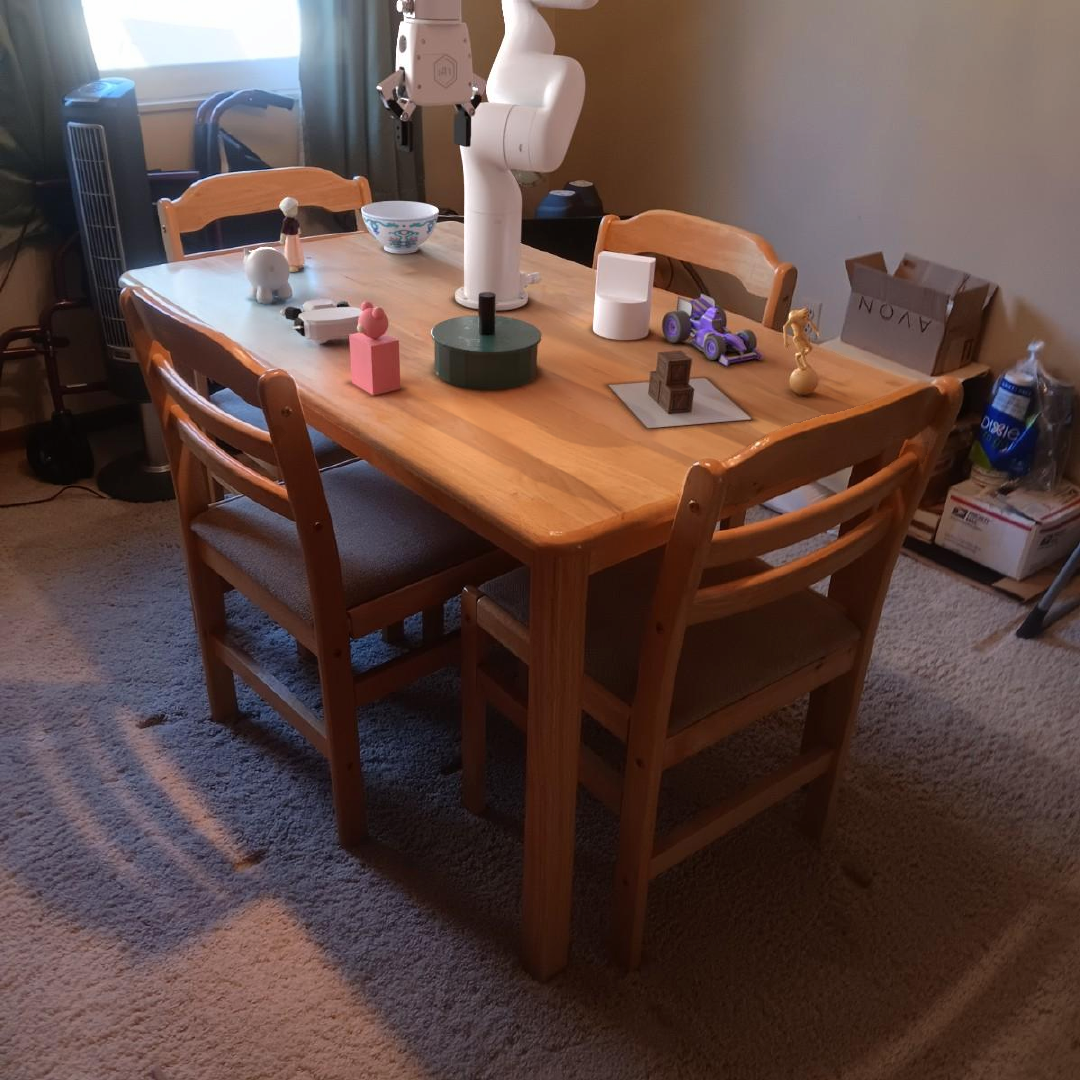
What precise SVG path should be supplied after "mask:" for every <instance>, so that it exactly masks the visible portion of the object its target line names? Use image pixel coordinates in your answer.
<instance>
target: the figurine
mask: <svg viewBox="0 0 1080 1080" xmlns="http://www.w3.org/2000/svg"><path fill="white" fill-rule="evenodd" d="M808 323H809V325H810V327H811V328H812V329H813V330H814V331H815V333H816V335H817V339H821V336H820V333H819V330H818V327H817V326H816V325H815V323H814V322H813V320H812V318H811V317H810V316H809V309H808V308H802V309H794V310H791V311H790V312H789V314H788V320H787V322H786V323H784V325H783V326H782V327H783V328H782V331H783V348H784V350H786V351H788V350H790V348H789V347H790V346H791V345H790V344H789V342H788V328H789V327H790V326H791V328H792V331H793V335H794V336H793V337H792V341H793V344H794V346H795V347H796V349H797V350H798V352H796V353H795V362H796V365H797V368H795V369H794V370H793V371H792V372H791V374H790V376H789V387H790V389H791V390H792V391H793V392H794V393H795V394H798V395H800V396H806V395H810V394H812V393H813V392H814V391H815V390H816V389H817V387H818V385H819V376H818V373H817V371H816V370H815V369H813V368H812V366H811V365H810V364H809V363H808V362H807V359H806V357H805V356H807V355H808V354H809V353H811V352H812V351H813V348H814V347H813V345H812V343H811V342H810V339H809V337H808V334H807V332H806V331H805V329H806V327H807V325H808ZM800 358H801V359H800ZM801 362H802V363H801Z"/></svg>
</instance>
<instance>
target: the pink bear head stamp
mask: <svg viewBox="0 0 1080 1080" xmlns="http://www.w3.org/2000/svg"><path fill="white" fill-rule="evenodd" d="M360 310H362V311H363V312H362V313H361V314H360V316H359V319H358V326H357V330H358V332H359V333H355V334H350V335H349V340H348V341H349V355H350V356H349V357H350V372H351V373H350V374H351V383H352V384H353V385H355V386H356V387H358V388H359V389H361V390H363V391H365V392H366V393H368V394H369V395H372V396H378V395H381V394H382V395H383V394H385V393H390V392H394V391H398V390H401V363H400V361H401V360H400V340H399V339H398V338H395V337H393V336H392V335H389V334H388V333H387V331H388V329H389V317H388V316H387V314H386V313H385V310H384V308H382V307H379V306H376V307H374V305H373V304H372V302H370V301H364V302H363V303H362V304H361V306H360Z"/></svg>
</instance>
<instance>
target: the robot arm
mask: <svg viewBox="0 0 1080 1080" xmlns="http://www.w3.org/2000/svg"><path fill="white" fill-rule="evenodd" d="M599 1H600V0H501V4H502V11H503V17H504V19H503V20H504V24H505V33H504V37H503V39H502V42H501V46H500V48H499V50H498V53H497V54H496V55H497V56H496V58H495V61H494V63H493V65H492V68H491V69H490V70H491V71H490V73H489V76H488V78H487V80H486V79H484V78H483V77H481V76H479V75H478V74H476V73H475V72H474V71H473V70H474V69H473V56H472V47H471V39H470V35H469V28H468V25H467V23H466V22H462V0H397V2H396V10H397V11H398V12H399V13H403V21H400V24H399V29H398V36H397V43H396V44H397V45H396V57H395V71H394V72H393V73H392V74H390V75H389V76H388V77H386V78H385V79H384V80H382V81H381V82H379V83H378V84H377V85H376V91H377V93H378V95H379V98H380V100H381V101H382V106H383V108H384V109H386V111H387V112H388V114H390V117H391V118H392V119H394V138H395V139H394V140H395V144H396V149H397V150H398V151H402V152H405V153H413V151H414V123H413V120H410V117H411V116H412V114H413V113H414V111H415V110H416V108H417V106H420V107H434V106H435V107H436V106H450V105H452V106H453V108H454V109H455V110H456V112H457V113H454V115H453V143H454V144H455V145H457V146H459V149H460V154H461V161H462V167H463V168H462V169H463V184H464V187H463V188H464V190H463V191H464V207H463V208H464V211H463V212H464V215H463V217H464V219H463V221H464V222H463V225H464V227H463V228H464V229H463V233H464V235H463V236H464V237H463V239H464V241H463V244H464V245H463V247H464V248H463V251H464V252H463V285H462V286H461V287H459V288H457V289H456V290H455V292H454V299H455V301H456V303H458V304H459V305H461V306H464V307H466V308H470V309H474V310H478V298H479V293H482V292H491V293H494V294H496V310H495V312H497V311H508V310H515V309H518V308H521V307H523V306H525V305H527V304H528V302H529V294H528V293H527V291H525V288H527V287H528V285H537V284H540V283H541V282H542V276H541V274H540V272H538V271H535V272H531V273H530V272H529V273H526V272H525V271H523V270H522V271H521V252H522V251H521V249H522V248H521V247H522V245H521V244H522V221H523V220H522V218H523V196H522V192H521V188H520V185H519V183H518V182H517V180H516V177H515V176H514V174H513V173H512V171H511V170H516V171H517V170H518V171H527V172H533V173H552V172H554V171H556V170H557V169H559V167H560V166H561V165H562V164H563V161H564V159H565V157H566V154H567V152H568V149H569V146H570V143H571V141H572V138H573V136H574V132H575V129H576V127H577V124H578V122H579V119H580V115H581V112H582V108H583V104H584V101H585V97H586V96H585V95H586V75H585V72H584V69H583V67H582V65H581V63H579V61H577V60H576V59H575V58H574V57H570V56H567V55H559V54H554V53H555V49H556V40H555V39H556V38H555V36H554V34H553V32H552V30H551V28H550V26H549V24H548V23H547V21H546V20H545V18H544V17H543V16H542V15H541V13H540V12H538V8H549V9H550V8H551V9H567V10H588V9H591V8H593V7H594V6H595V5H597V3H598V2H599ZM394 90H396V91H395V92H396V97H397V98H398V99H397V100H395V98H394V95H393V91H394ZM485 91H486V97H487V102H486V101H485V102H482V100H483V96H484V93H485Z"/></svg>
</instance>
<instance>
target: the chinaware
mask: <svg viewBox="0 0 1080 1080" xmlns="http://www.w3.org/2000/svg"><path fill="white" fill-rule="evenodd" d="M360 211H361V215H362V220H363V222H364V225H365V227H366V228H367V231H368V232H369V233H370V236H372V237H373V238H374V239H375V240H376V241H377V242H378V243H379V244H381V245H382V246H383V249H384V251H386V252H388V253H391V254H401V255H402V254H413V253H416V252H417V251H419V246H420V245H422V244H423V243H425V242H426V241H427V240H428V239H429V237H431V235H432V233H433V232H434V230H435V228H436V225H437V222H438V218H439V213H440V210H439V209H438V207H437V206H434V205H432V204H428V203H425V202H419V201H408V200H406V201H405V200H388V201H387V200H385V201H378V202H372V203H368V204H365V205H364V206H362V207H361V209H360Z"/></svg>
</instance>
